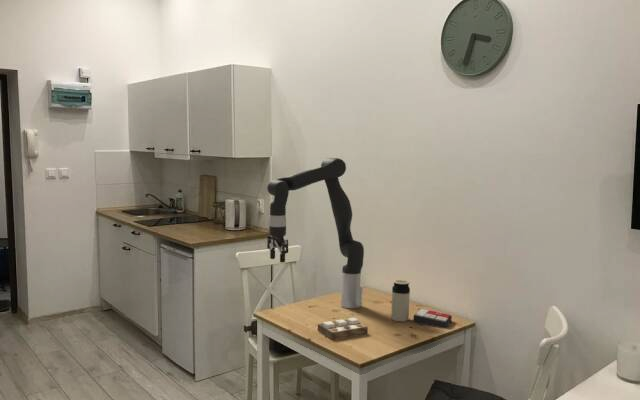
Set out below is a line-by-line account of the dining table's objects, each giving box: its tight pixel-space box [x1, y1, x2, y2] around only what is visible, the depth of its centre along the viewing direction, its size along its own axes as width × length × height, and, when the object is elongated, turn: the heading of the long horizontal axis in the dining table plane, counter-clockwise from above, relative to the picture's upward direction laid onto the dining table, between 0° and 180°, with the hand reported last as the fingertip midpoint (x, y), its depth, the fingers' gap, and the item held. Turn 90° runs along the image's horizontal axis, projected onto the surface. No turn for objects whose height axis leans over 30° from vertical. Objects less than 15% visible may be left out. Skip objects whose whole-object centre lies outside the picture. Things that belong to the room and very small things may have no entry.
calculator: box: [412, 308, 453, 329], centre depth 246 cm, size 11×4×15 cm
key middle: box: [334, 319, 347, 327], centre depth 229 cm, size 4×4×2 cm
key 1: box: [322, 320, 335, 329], centre depth 226 cm, size 4×4×2 cm
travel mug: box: [390, 278, 411, 323], centre depth 247 cm, size 8×8×18 cm
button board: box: [317, 319, 369, 341], centre depth 228 cm, size 18×12×3 cm
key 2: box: [346, 317, 360, 325], centre depth 232 cm, size 4×4×2 cm
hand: (277, 260), depth 241 cm, fingers open, 8 cm apart
